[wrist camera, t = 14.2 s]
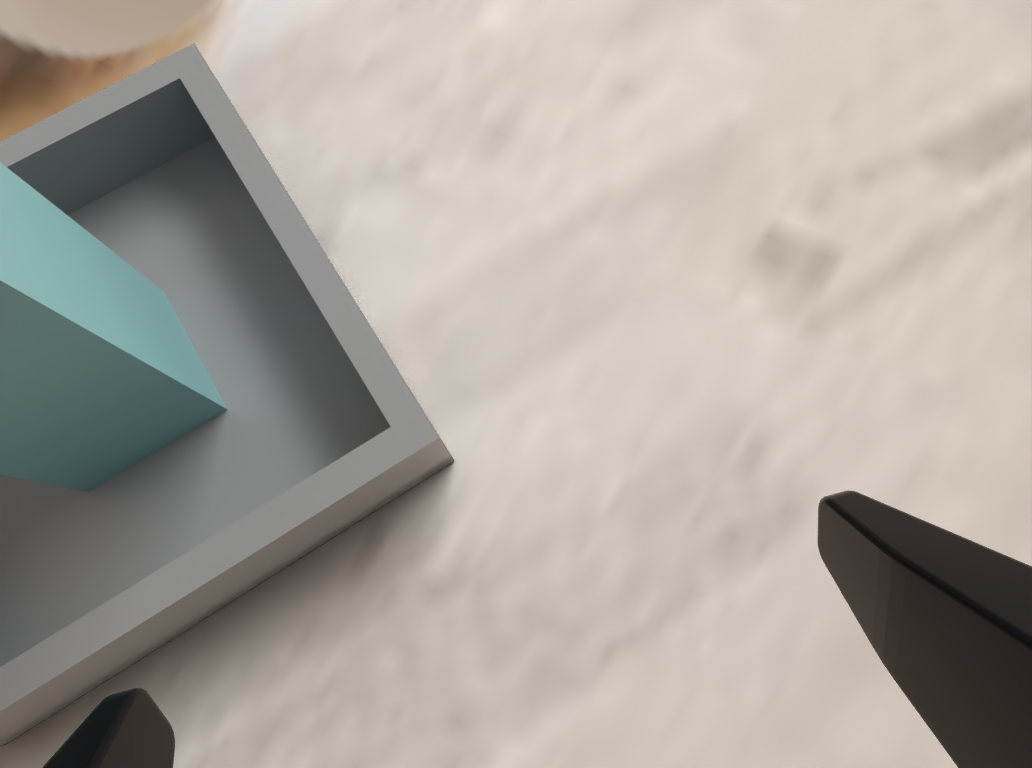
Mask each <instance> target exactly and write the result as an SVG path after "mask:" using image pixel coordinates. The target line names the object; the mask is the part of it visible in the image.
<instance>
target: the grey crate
mask: <svg viewBox="0 0 1032 768" xmlns="http://www.w3.org/2000/svg"><path fill="white" fill-rule="evenodd" d="M0 162H1V163H2V164H3V165H4V166H6V167H7V168H8V169H10V170H11V171H12V172H13V173H15V174H16V175H17V176H18V177H20V178H21V179H22V180H23V181H25V182H26V183H27V184H29V185H30V186H31V187H32V188H34V189H35V190H36V191H37V192H39V193H40V194H41V195H42V196H44V197H45V198H46V199H47V200H49V201H50V202H51V203H53V204H54V205H55V206H56V207H58V208H59V209H60V210H61V211H63V212H64V213H65V214H66V215H68V216H69V217H70V218H71V219H73V220H74V221H75V222H77V223H78V224H79V225H80V226H82V227H83V228H84V229H85V230H87V231H88V232H89V233H90V234H92V235H93V236H94V237H95V238H97V239H98V240H99V241H101V242H102V243H103V244H104V245H106V246H107V247H108V248H109V249H111V250H112V251H113V252H114V253H116V254H117V255H118V256H120V257H121V258H122V259H123V260H125V261H126V262H127V263H128V264H130V265H131V266H132V267H133V268H135V269H136V270H137V271H138V272H140V273H141V274H142V275H144V276H145V277H146V278H147V279H149V280H150V281H151V282H152V283H154V284H155V285H156V286H157V287H159V288H160V289H161V290H162V291H164V292H165V294H166V296H167V298H168V300H169V302H170V304H171V305H172V307H173V309H174V311H175V313H176V315H177V317H178V318H179V320H180V322H181V324H182V326H183V328H184V330H185V331H186V333H187V335H188V337H189V339H190V341H191V343H192V344H193V346H194V348H195V350H196V352H197V354H198V356H199V357H200V359H201V361H202V363H203V365H204V367H205V369H206V370H207V372H208V374H209V376H210V378H211V380H212V382H213V383H214V385H215V387H216V389H217V391H218V393H219V394H220V396H221V398H222V400H223V402H224V404H225V406H226V407H227V409H228V410H226V411H224V412H222V413H221V414H219V415H217V416H216V417H214V418H212V419H211V420H209V421H207V422H205V423H204V424H202V425H200V426H199V427H197V428H195V429H194V430H192V431H190V432H188V433H187V434H185V435H183V436H182V437H180V438H178V439H177V440H175V441H173V442H172V443H170V444H168V445H166V446H165V447H163V448H161V449H160V450H158V451H156V452H155V453H153V454H151V455H149V456H148V457H146V458H144V459H143V460H141V461H139V462H138V463H136V464H134V465H133V466H131V467H129V468H127V469H126V470H124V471H122V472H121V473H119V474H117V475H116V476H114V477H112V478H110V479H109V480H107V481H105V482H104V483H102V484H100V485H99V486H97V487H95V488H93V489H92V490H90V491H88V492H84V491H80V490H75V489H70V488H65V487H60V486H55V485H50V484H45V483H40V482H35V481H30V480H25V479H20V478H15V477H10V476H5V475H0V746H2V745H5V744H7V743H9V742H11V741H12V740H14V739H15V738H17V737H18V736H20V735H22V734H23V733H25V732H26V731H28V730H30V729H31V728H33V727H34V726H36V725H37V724H39V723H41V722H42V721H44V720H45V719H47V718H49V717H50V716H52V715H53V714H55V713H56V712H58V711H60V710H61V709H63V708H64V707H66V706H68V705H69V704H71V703H72V702H74V701H75V700H77V699H79V698H80V697H82V696H83V695H85V694H87V693H88V692H90V691H91V690H93V689H94V688H96V687H98V686H99V685H101V684H102V683H104V682H106V681H107V680H109V679H110V678H112V677H113V676H115V675H117V674H118V673H120V672H121V671H123V670H125V669H126V668H128V667H129V666H131V665H132V664H134V663H136V662H137V661H139V660H140V659H142V658H144V657H145V656H147V655H148V654H150V653H151V652H153V651H155V650H156V649H158V648H159V647H161V646H163V645H164V644H166V643H167V642H169V641H170V640H172V639H174V638H175V637H177V636H178V635H180V634H182V633H183V632H185V631H186V630H188V629H189V628H191V627H193V626H194V625H196V624H197V623H199V622H201V621H202V620H204V619H205V618H207V617H208V616H210V615H212V614H213V613H215V612H216V611H218V610H220V609H221V608H223V607H224V606H226V605H227V604H229V603H231V602H232V601H234V600H235V599H237V598H239V597H240V596H242V595H243V594H245V593H246V592H248V591H250V590H251V589H253V588H254V587H256V586H258V585H259V584H261V583H262V582H264V581H265V580H267V579H269V578H270V577H272V576H273V575H275V574H277V573H278V572H280V571H281V570H283V569H284V568H286V567H288V566H289V565H291V564H292V563H294V562H295V561H297V560H299V559H300V558H302V557H303V556H305V555H307V554H308V553H310V552H311V551H313V550H314V549H316V548H318V547H319V546H321V545H322V544H324V543H326V542H327V541H329V540H330V539H332V538H333V537H335V536H337V535H338V534H340V533H341V532H343V531H345V530H346V529H348V528H349V527H351V526H352V525H354V524H356V523H357V522H359V521H360V520H362V519H364V518H365V517H367V516H368V515H370V514H371V513H373V512H375V511H376V510H378V509H379V508H381V507H383V506H384V505H386V504H387V503H389V502H390V501H392V500H394V499H395V498H397V497H398V496H400V495H402V494H403V493H405V492H406V491H408V490H409V489H411V488H413V487H414V486H416V485H417V484H419V483H421V482H422V481H424V480H425V479H427V478H428V477H430V476H432V475H433V474H435V473H436V472H438V471H440V470H441V469H443V468H444V467H446V466H447V465H449V464H451V463H452V462H454V459H453V458H452V456H451V455H450V453H449V451H448V450H447V448H446V447H445V445H444V443H443V442H442V440H441V438H440V437H439V435H438V434H437V432H436V430H435V429H434V427H433V426H432V424H431V422H430V421H429V419H428V418H427V416H426V414H425V413H424V411H423V410H422V408H421V406H420V405H419V403H418V402H417V400H416V398H415V397H414V395H413V394H412V392H411V390H410V389H409V387H408V386H407V384H406V382H405V381H404V379H403V377H402V376H401V374H400V373H399V371H398V369H397V368H396V366H395V365H394V363H393V361H392V360H391V358H390V357H389V355H388V353H387V352H386V350H385V349H384V347H383V345H382V344H381V342H380V341H379V339H378V337H377V336H376V334H375V333H374V331H373V329H372V328H371V326H370V324H369V323H368V321H367V320H366V318H365V316H364V315H363V313H362V312H361V310H360V308H359V307H358V305H357V304H356V302H355V300H354V299H353V297H352V296H351V294H350V292H349V291H348V289H347V288H346V286H345V284H344V283H343V281H342V280H341V278H340V276H339V275H338V273H337V272H336V270H335V268H334V267H333V265H332V263H331V262H330V260H329V259H328V257H327V255H326V254H325V252H324V251H323V249H322V247H321V246H320V244H319V243H318V241H317V239H316V238H315V236H314V235H313V233H312V231H311V230H310V228H309V227H308V225H307V223H306V222H305V220H304V219H303V217H302V215H301V214H300V212H299V211H298V209H297V207H296V206H295V204H294V202H293V201H292V199H291V198H290V196H289V194H288V193H287V191H286V190H285V188H284V186H283V185H282V183H281V182H280V180H279V178H278V177H277V175H276V174H275V172H274V170H273V169H272V167H271V166H270V164H269V162H268V161H267V159H266V158H265V156H264V154H263V153H262V151H261V149H260V148H259V146H258V145H257V143H256V141H255V140H254V138H253V137H252V135H251V133H250V132H249V130H248V129H247V127H246V125H245V124H244V122H243V121H242V119H241V117H240V116H239V114H238V113H237V111H236V109H235V108H234V106H233V105H232V103H231V101H230V100H229V98H228V97H227V95H226V93H225V92H224V90H223V89H222V87H221V85H220V84H219V82H218V81H217V79H216V77H215V76H214V74H213V73H212V71H211V69H210V68H209V66H208V65H207V63H206V61H205V60H204V58H203V56H202V55H201V53H200V52H199V50H198V48H197V47H196V45H195V44H192V45H190V46H188V47H186V48H184V49H182V50H180V51H178V52H176V53H174V54H172V55H170V56H168V57H166V58H164V59H162V60H160V61H158V62H156V63H154V64H152V65H150V66H149V67H147V68H145V69H143V70H141V71H139V72H137V73H135V74H133V75H131V76H129V77H127V78H125V79H123V80H121V81H119V82H117V83H115V84H113V85H111V86H109V87H107V88H105V89H103V90H101V91H99V92H97V93H95V94H93V95H92V96H90V97H88V98H86V99H84V100H82V101H80V102H78V103H76V104H74V105H72V106H70V107H68V108H66V109H64V110H62V111H60V112H58V113H56V114H54V115H52V116H50V117H48V118H46V119H44V120H42V121H40V122H38V123H36V124H35V125H33V126H31V127H29V128H27V129H25V130H23V131H21V132H19V133H17V134H15V135H13V136H11V137H9V138H7V139H5V140H3V141H1V142H0Z"/></svg>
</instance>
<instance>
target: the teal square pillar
mask: <svg viewBox="0 0 1032 768" xmlns="http://www.w3.org/2000/svg"><path fill="white" fill-rule="evenodd" d="M226 410H228V409H227V407H226V406H225V404H224V402H223V400H222V398H221V396H220V394H219V393H218V391H217V389H216V387H215V385H214V383H213V382H212V380H211V378H210V376H209V374H208V372H207V370H206V369H205V367H204V365H203V363H202V361H201V359H200V357H199V356H198V354H197V352H196V350H195V348H194V346H193V344H192V343H191V341H190V339H189V337H188V335H187V333H186V331H185V330H184V328H183V326H182V324H181V322H180V320H179V318H178V317H177V315H176V313H175V311H174V309H173V307H172V305H171V304H170V302H169V300H168V298H167V296H166V294H165V292H164V291H162V290H161V289H160V288H159V287H157V286H156V285H155V284H154V283H152V282H151V281H150V280H149V279H147V278H146V277H145V276H144V275H142V274H141V273H140V272H138V271H137V270H136V269H135V268H133V267H132V266H131V265H130V264H128V263H127V262H126V261H125V260H123V259H122V258H121V257H120V256H118V255H117V254H116V253H114V252H113V251H112V250H111V249H109V248H108V247H107V246H106V245H104V244H103V243H102V242H101V241H99V240H98V239H97V238H95V237H94V236H93V235H92V234H90V233H89V232H88V231H87V230H85V229H84V228H83V227H82V226H80V225H79V224H78V223H77V222H75V221H74V220H73V219H71V218H70V217H69V216H68V215H66V214H65V213H64V212H63V211H61V210H60V209H59V208H58V207H56V206H55V205H54V204H53V203H51V202H50V201H49V200H47V199H46V198H45V197H44V196H42V195H41V194H40V193H39V192H37V191H36V190H35V189H34V188H32V187H31V186H30V185H29V184H27V183H26V182H25V181H23V180H22V179H21V178H20V177H18V176H17V175H16V174H15V173H13V172H12V171H11V170H10V169H8V168H7V167H6V166H4V165H3V164H2V163H1V162H0V475H5V476H10V477H15V478H20V479H25V480H30V481H35V482H40V483H45V484H50V485H55V486H60V487H65V488H70V489H75V490H80V491H84V492H88V491H90V490H92V489H93V488H95V487H97V486H99V485H100V484H102V483H104V482H105V481H107V480H109V479H110V478H112V477H114V476H116V475H117V474H119V473H121V472H122V471H124V470H126V469H127V468H129V467H131V466H133V465H134V464H136V463H138V462H139V461H141V460H143V459H144V458H146V457H148V456H149V455H151V454H153V453H155V452H156V451H158V450H160V449H161V448H163V447H165V446H166V445H168V444H170V443H172V442H173V441H175V440H177V439H178V438H180V437H182V436H183V435H185V434H187V433H188V432H190V431H192V430H194V429H195V428H197V427H199V426H200V425H202V424H204V423H205V422H207V421H209V420H211V419H212V418H214V417H216V416H217V415H219V414H221V413H222V412H224V411H226Z"/></svg>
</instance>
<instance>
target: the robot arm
mask: <svg viewBox="0 0 1032 768" xmlns="http://www.w3.org/2000/svg"><path fill="white" fill-rule="evenodd" d="M818 548H819V552H820V555H821V557H822V560H823V562H824V563H825V565H826V567H827V569H828V570H829V572H830V574H831V575H832V577H833V579H834V581H835V582H836V584H837V586H838V588H839V589H840V591H841V593H842V595H843V596H844V598H845V600H846V601H847V603H848V605H849V607H850V608H851V610H852V612H853V614H854V615H855V617H856V619H857V620H858V622H859V624H860V626H861V627H862V629H863V631H864V633H865V634H866V636H867V638H868V639H869V641H870V643H871V645H872V646H873V648H874V650H875V651H876V653H877V654H878V656H879V658H880V659H881V661H882V663H883V664H884V665H885V667H886V668H887V670H888V671H889V673H890V674H891V676H892V677H893V678H894V680H895V681H896V683H897V684H898V685H899V687H900V688H901V690H902V691H903V692H904V694H905V695H906V696H907V698H908V699H909V701H910V702H911V703H912V705H913V706H914V707H915V709H916V710H917V712H918V713H919V714H920V716H921V717H922V718H923V720H924V721H925V723H926V724H927V725H928V727H929V728H930V729H931V731H932V732H933V734H934V735H935V736H936V738H937V739H938V740H939V742H940V743H941V745H942V746H943V747H944V749H945V750H946V751H947V753H948V754H949V756H950V757H951V758H952V760H953V761H954V762H955V764H956V765H957V767H958V768H1032V566H1029V565H1027V564H1025V563H1022V562H1020V561H1018V560H1015V559H1013V558H1011V557H1008V556H1006V555H1003V554H1001V553H999V552H996V551H994V550H992V549H989V548H987V547H985V546H982V545H980V544H978V543H975V542H973V541H971V540H968V539H966V538H964V537H961V536H959V535H956V534H954V533H952V532H949V531H947V530H945V529H942V528H940V527H938V526H935V525H933V524H931V523H928V522H926V521H924V520H921V519H919V518H917V517H914V516H912V515H909V514H907V513H905V512H902V511H900V510H898V509H895V508H893V507H891V506H888V505H886V504H884V503H881V502H879V501H877V500H874V499H872V498H870V497H867V496H865V495H862V494H860V493H858V492H855V491H844V492H840V493H836V494H833V495H829V496H826V497H824V498H822V499H821V500H820V503H819V507H818ZM174 751H175V737H174V732H173V729H172V727H171V725H170V723H169V722H168V720H167V719H166V717H165V716H164V715H163V713H162V712H161V711H160V709H159V708H158V706H157V705H156V704H155V702H154V701H153V699H152V698H151V697H150V695H149V694H148V693H147V692H146V691H145V690H143V689H141V688H135V689H131V690H128V691H124V692H121V693H117V694H114V695H111V696H109V697H107V698H105V699H104V700H103V701H102V702H101V703H100V704H99V705H98V706H97V707H96V708H95V709H94V711H93V712H92V713H91V714H90V715H89V716H88V717H87V718H86V719H85V721H84V722H83V723H82V724H81V725H80V726H79V727H78V728H77V730H76V731H75V732H74V733H73V734H72V735H71V736H70V737H69V738H68V740H67V741H66V742H65V743H64V744H63V745H62V746H61V747H60V749H59V750H58V751H57V752H56V753H55V754H54V755H53V756H52V757H51V759H50V760H49V761H48V762H47V763H46V764H45V765H44V766H43V768H173V762H174Z"/></svg>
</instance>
